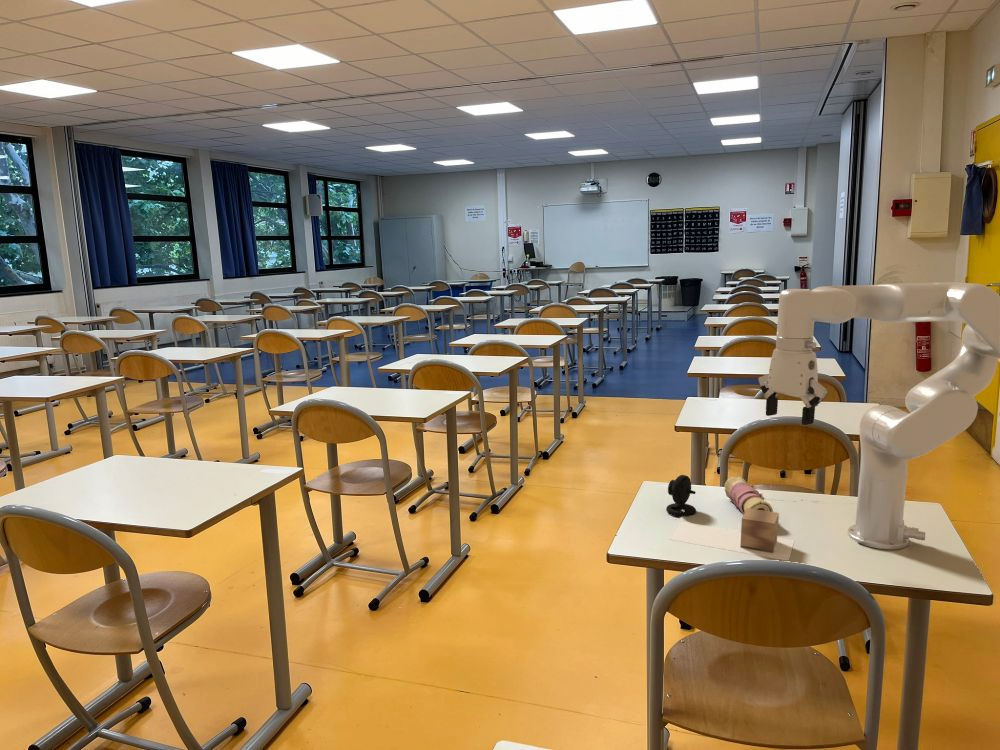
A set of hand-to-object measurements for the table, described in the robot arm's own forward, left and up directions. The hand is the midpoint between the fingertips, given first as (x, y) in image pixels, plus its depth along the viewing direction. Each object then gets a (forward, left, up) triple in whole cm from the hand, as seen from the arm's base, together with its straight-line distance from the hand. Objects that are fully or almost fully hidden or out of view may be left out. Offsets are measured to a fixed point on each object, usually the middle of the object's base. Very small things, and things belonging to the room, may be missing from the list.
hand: (788, 419), depth 160 cm
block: (+4, +7, -28) cm, 29 cm away
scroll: (+9, -13, -29) cm, 33 cm away
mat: (+10, +7, -29) cm, 31 cm away
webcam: (+25, -6, -29) cm, 39 cm away
